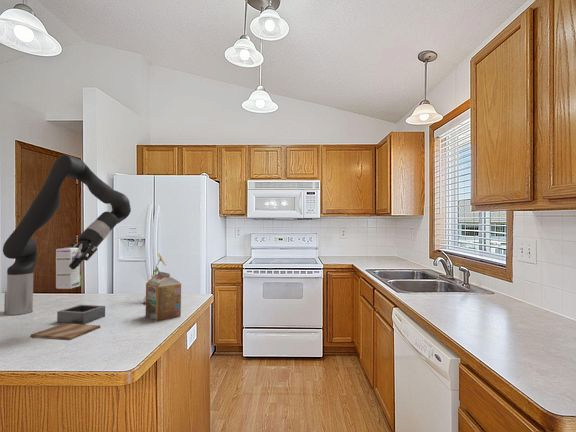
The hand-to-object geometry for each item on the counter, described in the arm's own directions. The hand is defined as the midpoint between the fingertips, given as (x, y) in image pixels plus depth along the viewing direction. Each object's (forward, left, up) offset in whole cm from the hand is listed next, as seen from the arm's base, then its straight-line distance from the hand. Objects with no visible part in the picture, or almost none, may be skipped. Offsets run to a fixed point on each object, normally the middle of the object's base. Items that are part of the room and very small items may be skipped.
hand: (64, 267), depth 124 cm
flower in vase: (+5, +51, -24) cm, 57 cm away
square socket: (-7, +16, -24) cm, 30 cm away
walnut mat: (0, +1, -24) cm, 24 cm away
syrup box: (0, +2, -8) cm, 8 cm away
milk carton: (+23, +27, -24) cm, 43 cm away
